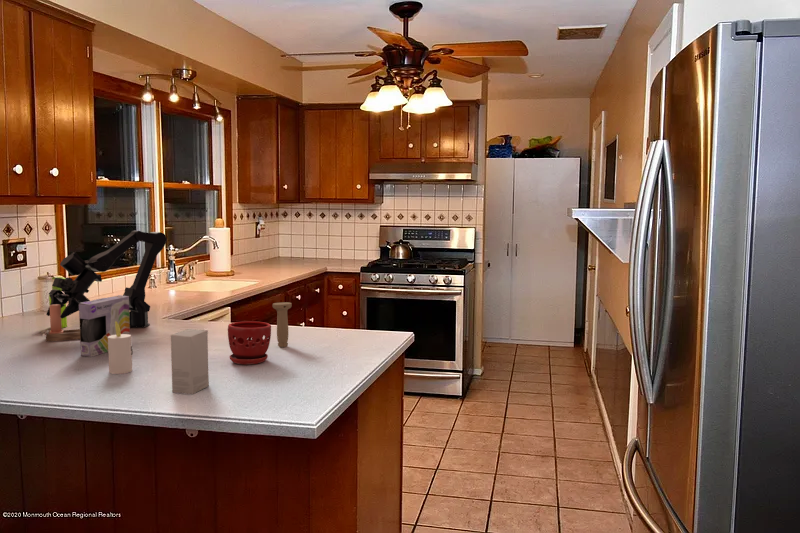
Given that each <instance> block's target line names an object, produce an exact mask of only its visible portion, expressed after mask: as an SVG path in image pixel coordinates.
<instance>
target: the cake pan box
mask: <svg viewBox="0 0 800 533" xmlns="http://www.w3.org/2000/svg"><path fill="white" fill-rule="evenodd" d="M129 312H130V311H129V296H123V294H118V295H114V296H110V297H101V298H96V299H92V300H90V301H87V302H81V303H79V311H78V315H79V316H78V318H79V329H80V339H79V340H80V341H79V343H80V356H81V357H88V358H89V357H90V358H91V357H95V356H98V355H101V354H106V353H108V336H111V335H116V327H115V321H116V322H117V323H118V324H119V327H120V331H121V334H129V335H131V327H130V320H129Z"/></svg>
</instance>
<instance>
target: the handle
mask: <svg viewBox="0 0 800 533" xmlns="http://www.w3.org/2000/svg"><path fill="white" fill-rule="evenodd" d="M272 308H273V309H274V310H276V313H277V316H276V318H277V319H276V339H277V346H278V348H287V347H288V345H289V343H288V341H289V321H288V310H289V309H291V308H292V302H289V301H288V302H287V301H286V302H285V301H283V302H274V303H272Z"/></svg>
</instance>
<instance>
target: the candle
mask: <svg viewBox="0 0 800 533" xmlns="http://www.w3.org/2000/svg"><path fill="white" fill-rule="evenodd" d="M115 327H116V335H111V336H108V352H107V353H108V370H109V371H108V372H109V374H112V375H124V374H128V373H130V372H132V371H133V345H132V334H130V335H129V334H121V331H120V327H119V324H118V323H117V322H116V321H115Z"/></svg>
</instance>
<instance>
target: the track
mask: <svg viewBox="0 0 800 533" xmlns="http://www.w3.org/2000/svg"><path fill="white" fill-rule="evenodd" d="M62 330H63V333H58V334H49V332H50V331H51V330H47V329H46V331H45V338H46V339H45V340H46V341H45V343H46V342H47V343H48V342H59V341H70V340H71V341H72V340H73V341H74V340H80V328H76V329H62Z"/></svg>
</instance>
